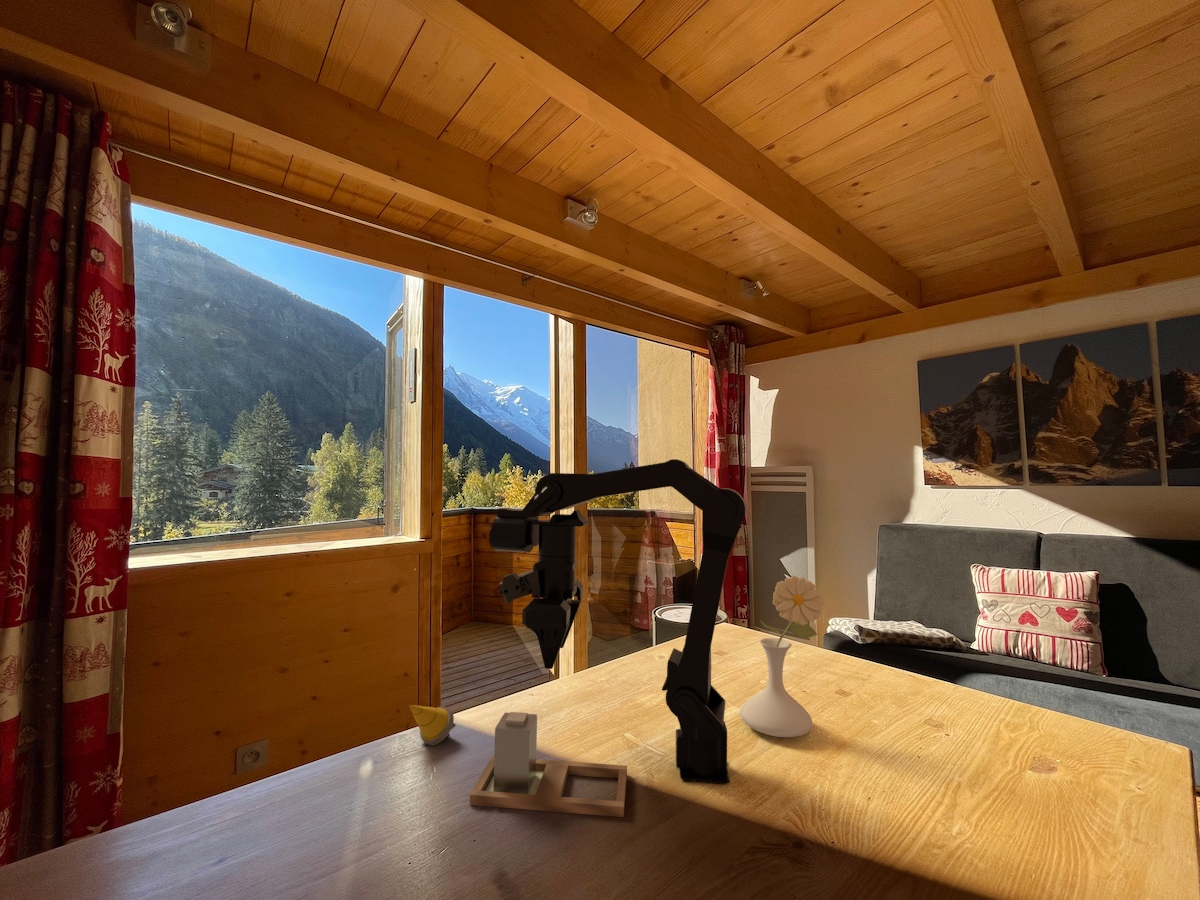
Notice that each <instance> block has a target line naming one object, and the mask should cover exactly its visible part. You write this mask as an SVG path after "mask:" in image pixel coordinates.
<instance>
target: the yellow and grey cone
mask: <svg viewBox="0 0 1200 900" xmlns="http://www.w3.org/2000/svg"><path fill="white" fill-rule="evenodd" d="M408 707H409V708H410V711H411V713H412V715H413V717H414V720H415V722H416V724H417V726H418V728H419V736H420V739H421V741H422V742H424V743H425V744H427V745H429V746H435V745H437V744H440V743H441V742H442V741H444V740H445V739H446V738H447V736H448V735H450V732H451V731H452V730H453V729H454V728H455V727H456V726H457V724H455V723H454V721H455V720H454V719H455V718H454V713H453V712H452V710H451V709H449V708H448V707H447V706H443V705H442V706H441V705H440V706H438V707H432V706H424V705H414V704H411V705H410V704H409V705H408Z"/></svg>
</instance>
